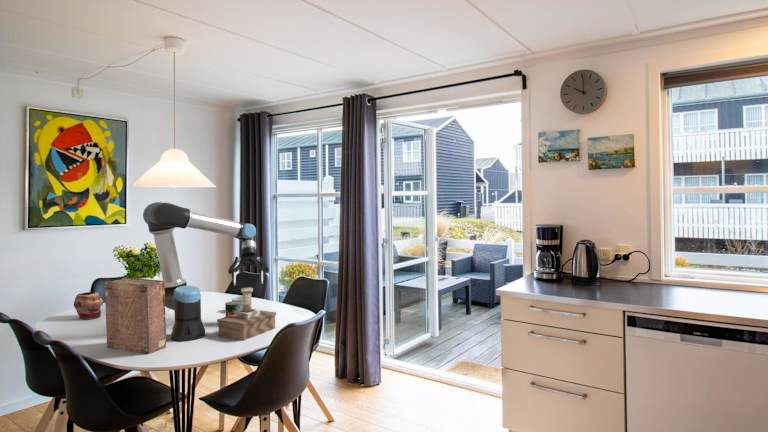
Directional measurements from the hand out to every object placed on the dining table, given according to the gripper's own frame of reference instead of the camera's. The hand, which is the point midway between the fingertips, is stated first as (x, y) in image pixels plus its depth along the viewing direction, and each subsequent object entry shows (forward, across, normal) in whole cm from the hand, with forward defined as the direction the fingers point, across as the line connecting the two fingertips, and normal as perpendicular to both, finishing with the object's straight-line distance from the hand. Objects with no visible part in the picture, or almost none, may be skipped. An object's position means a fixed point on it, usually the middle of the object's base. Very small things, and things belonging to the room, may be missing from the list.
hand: (248, 283), depth 238 cm
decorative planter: (-13, +88, -45) cm, 100 cm away
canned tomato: (+11, +8, -21) cm, 25 cm away
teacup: (-9, +5, -41) cm, 42 cm away
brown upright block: (+31, +48, -1) cm, 57 cm away
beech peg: (+17, 0, -3) cm, 17 cm away
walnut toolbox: (+23, 0, -9) cm, 24 cm away
